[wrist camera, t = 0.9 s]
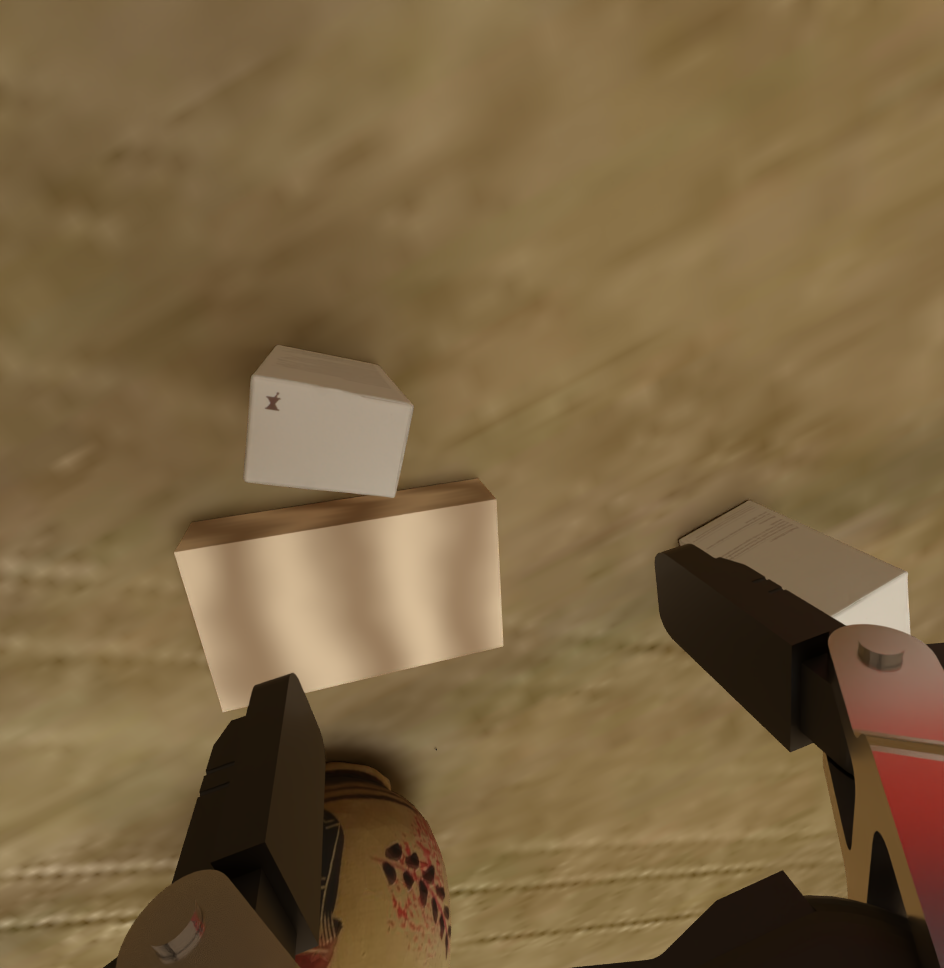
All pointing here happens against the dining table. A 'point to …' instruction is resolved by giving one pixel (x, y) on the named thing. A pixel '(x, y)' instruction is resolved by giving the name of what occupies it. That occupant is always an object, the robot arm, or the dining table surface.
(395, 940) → the ceramic jug
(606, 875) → the dining table surface
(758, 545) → the supplement box
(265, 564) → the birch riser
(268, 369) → the skincare box
